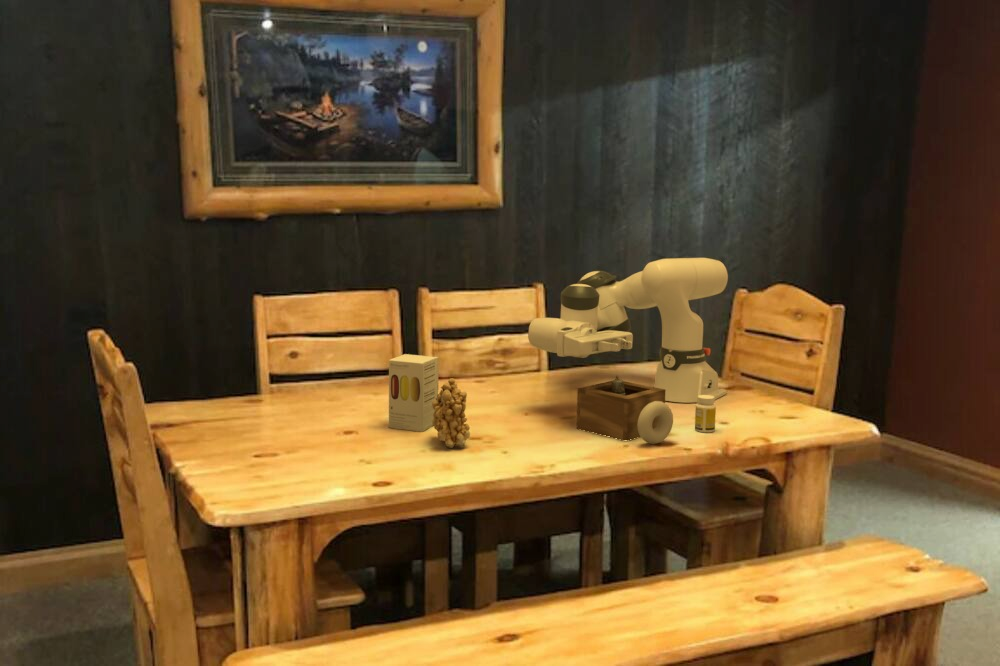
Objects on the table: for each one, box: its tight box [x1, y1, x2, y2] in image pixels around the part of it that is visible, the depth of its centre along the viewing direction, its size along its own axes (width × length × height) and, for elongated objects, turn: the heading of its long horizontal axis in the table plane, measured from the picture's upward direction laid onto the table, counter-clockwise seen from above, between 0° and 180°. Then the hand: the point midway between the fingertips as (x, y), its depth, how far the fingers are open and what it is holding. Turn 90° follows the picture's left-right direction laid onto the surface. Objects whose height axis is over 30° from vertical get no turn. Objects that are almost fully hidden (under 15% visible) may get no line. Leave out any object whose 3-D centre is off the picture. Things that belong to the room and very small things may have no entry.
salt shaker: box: [612, 375, 626, 396], centre depth 222 cm, size 6×6×12 cm
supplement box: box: [388, 353, 440, 433], centre depth 223 cm, size 10×9×17 cm
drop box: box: [576, 379, 666, 441], centre depth 222 cm, size 15×15×10 cm
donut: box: [637, 401, 674, 445], centre depth 210 cm, size 10×4×10 cm, turn 125°
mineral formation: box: [432, 377, 471, 449], centre depth 208 cm, size 8×13×15 cm, turn 21°
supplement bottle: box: [694, 395, 717, 434], centre depth 222 cm, size 5×5×8 cm
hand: (624, 346), depth 219 cm, fingers open, 3 cm apart
